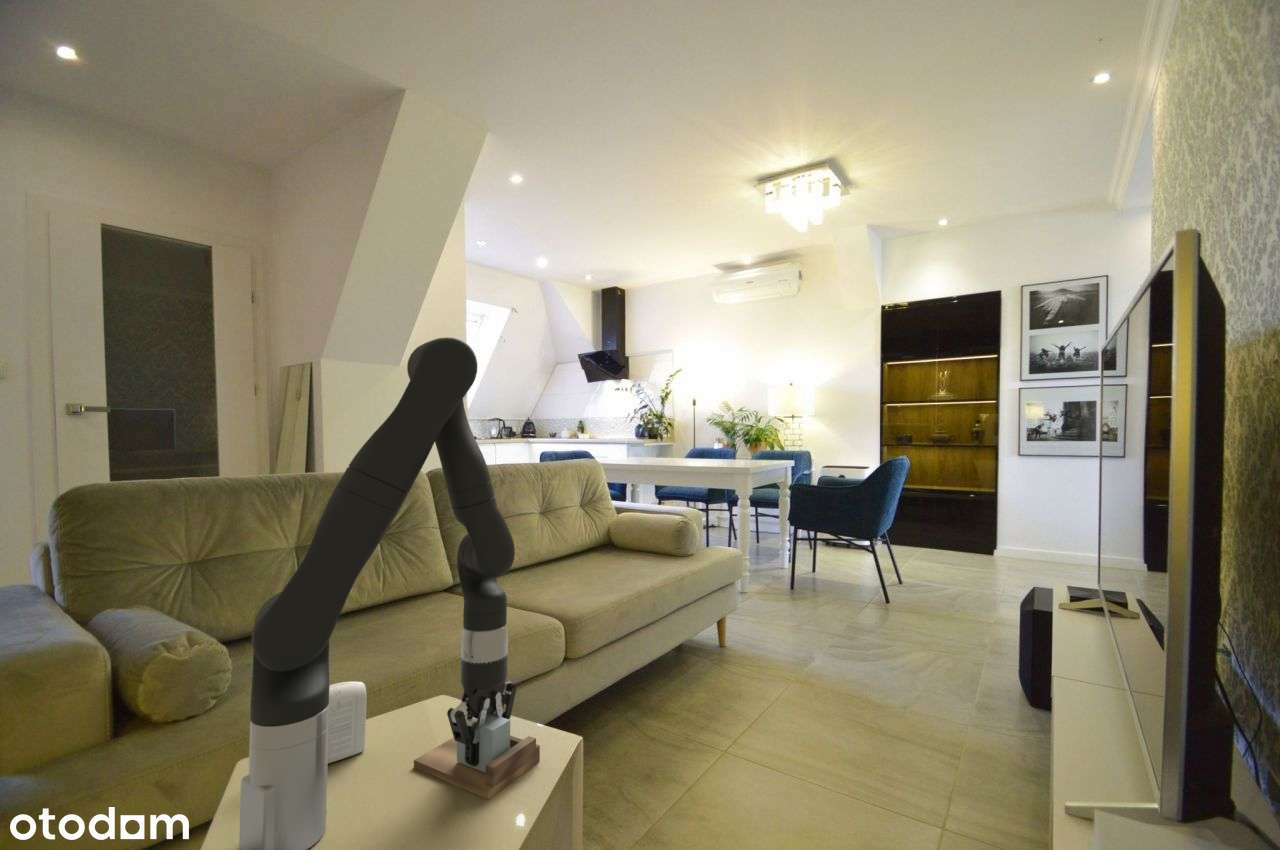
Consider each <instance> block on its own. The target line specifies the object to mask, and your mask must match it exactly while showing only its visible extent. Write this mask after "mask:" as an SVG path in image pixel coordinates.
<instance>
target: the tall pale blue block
mask: <svg viewBox="0 0 1280 850" xmlns="http://www.w3.org/2000/svg"><path fill="white" fill-rule="evenodd" d="M472 718H473V719H475V720H478V719H477V718H474V717H472ZM473 730H474V728H473V727H472V726H471V733H472V734H473ZM510 735H511V719H506V718H503V717H496V716H493V715H489V714H488V715H487V716H486V718H485V723H484V726H483V727H481V728H480V737H479V741H478V742H479V764H478V765H476V766H475V767H474V766H471V765H469V764H467V762H466V761H465V744H462V743H460V742H457V762H459V763H462V764H464V765H467V766H469V767H472V768H474V769H477V770H480V771H482V772H485V773H486V764H488V763H489V762H491V761H492V760H494V759H495V758H497V757H498V756H500V755H501V754H503V753H504V752H506V751H507V750H509V749H510Z"/></svg>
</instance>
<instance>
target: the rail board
mask: <svg viewBox="0 0 1280 850" xmlns="http://www.w3.org/2000/svg"><path fill="white" fill-rule="evenodd" d="M540 746H541V745H539V744H537V738H536V737H532V736H530V735H528V736H527V737H525V738H524V739H522V738H519V737H516V736H514V735H511V734H510V749H509V750H507V751H506V752H504V753H503V754H501V755H500V756H498V757H497V758H495V759H494V760H492V761H491V762H489V763H488V764H486V773H485V772H482V771H480V770H477V769H474V768H472V767H469V766H467V765H464V764H462V763H459V762H457V741H455V740H454V736H453V737H452V738H450V739H449V740H446V741H445V742H443V743H441V744H440V745H438V746H436V747H434V748H433V749H431V750H430V751H428V752H425V753H424V754H422V755H420V756H419V757H417V758H415V759H413V768H415V769H417V770H418V771H421V772H424V773H425V774H428V775H431V776H433V777H436V778H437V779H440V780H442V781H444V782H447V783H449V784H452V785H454V786H456V787H459V788H461V789H464V790H466V791H468V792H470V793H473V794H475V795H477V796H479V797H482V798H484V799H485V800H489V799H491V798H492V797H494V796H495V795H496V794H498V793H499V792H500V791H502V790H503V789H504V788H505V787H507V786H508V785H510V784H511V783H512V782H514V781H515V780H517V779H518V778H519V777H520V776H522V775H523V774H524V773H526V772H527V771H529V770H530V769H531V768H532V767H534V766H535V765H536V764H538V763H539V762H540V760H541V758H540V756H541V751H540V748H541V747H540Z"/></svg>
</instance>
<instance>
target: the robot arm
mask: <svg viewBox="0 0 1280 850" xmlns="http://www.w3.org/2000/svg"><path fill="white" fill-rule="evenodd" d="M406 370H407V371H406V372H407V376H408V379H409V382H408V384H407V386H406V388H405V390H404V391H403V394H402V395H401V398H400V399H399V401H398V403H397V404H396V406H395V407H394V409H393V411H392V412H391V413H390V414H389V415H388V417H387V418H386V419H385V420H384V421H383V422H382V423H381V425H380V426H379V427H378V428H377V429H376V430H375V431H374V432H373V433H372V435H371V436H370V437H369V438H368V439H367V441H365V443H364V444H363V445H362V446H361V448H360V449H359V450H358V451H357V453H356V454H355V455H354V457H353V458H352V460H351V461H350V463H349V464H348V466H347V467H346V469H345V471H344V473H343V474H342V475H341V478H340V480H339V481H338V482H337V484H336V486H335V488H334V490H333V492H332V493H331V496H330V497H329V499H328V502H327V504H326V505H325V507H324V510H323V511H322V512H323V513H322V514H321V516H320V520H319V522H318V524H317V526H316V530H315V532H314V534H313V537H312V539H311V543H310V545H309V547H308V549H307V552H306V554H305V555H304V557H303V559H302V561H301V562H300V564H299V566H298V568H297V569H296V570H295V572H294V574H293V575H292V577H291V578H290V579H289V581H288V582H287V584H286V585H285V587H284V588H283V589H282V590H281V591H280V592H278V593H275V595H273V596H271V597H270V598H269V599H268V600H266V601H265V603H264V604H262V606H261V607H260V609H259V611H258V612H257V614H256V616H255V620H254V623H253V627H252V632H251V645H252V646H251V647H252V651H253V654H252V655H253V657H252V678H251V694H250V712H249V713H250V721H249V747H248V750H249V751H248V752H249V753H248V754H249V755H248V774H247V775H245V776H243V777H242V779H241V780H240V807H239V808H240V809H239V814H240V815H239V835H238V837H239V838H238V840H239V841H238V843H239V844H238V848H239V849H238V850H308V849H309V848H310V849H311V848H312V847H313V846H314V845H315V844H316V843H317V842H318V841H319V840H321V839H322V838H323V835H324V834H325V831H326V829H327V813H328V811H327V805H328V804H327V799H328V798H327V797H328V794H327V793H328V792H327V791H328V764H329V763H328V724H329V686H330V639H331V637H332V634H333V632H334V631H335V630H334V629H335V628H336V624H337V623H338V620H339V618H340V615H341V613H342V610H343V608H344V607H345V604H346V601H347V600H348V597H349V595H350V593H351V590H352V588H353V586H354V584H355V583H356V582H357V579H358V577H359V575H360V574H361V572H362V570H363V569H364V567H365V565H366V564H367V562H368V561H369V560H370V558H371V556H372V555H373V554H374V552H375V551H376V549H377V548H378V546H379V544H380V543H381V541H382V540H383V538H384V536H385V535H386V533H387V531H388V529H389V528H390V526H391V525H392V523H393V522H394V520H395V518H396V517H397V515H398V513H399V511H400V510H401V507H402V506H403V504H404V502H405V501H406V499H407V498H408V496H409V493H410V492H411V489H412V488H413V486H414V483H415V482H416V480H417V478H418V476H419V474H420V473H421V471H422V468H423V467H424V464H425V462H426V461H427V459H428V457H429V455H430V453H431V451H432V449H433V447H434V444H435V447H436V450H437V453H438V456H439V461H440V464H441V469H442V473H443V477H444V480H445V485H446V488H447V489H446V490H447V493H448V498H449V501H450V505H451V508H452V513H453V515H454V517H455V519H456V521H457V522H459V524H461V525H462V526H463V527H464V528H465V530H466V532H467V534H465V535H464V536H463V538H462V539H461V541H460V542H459V545H458V549H457V555H456V565H457V573H458V579H459V583H460V590H461V594H462V597H463V598H462V599H463V610H462V611H463V614H462V615H463V616H462V617H463V620H462V623H463V624H462V634H461V643H460V645H461V646H460V648H461V649H460V653H461V654H460V684H461V685H462V687H463V694H462V697H461V702H460V703H459V704H458V705H457V706H456V707H455V708H453V707H450V708H449V709H448V710H447V713H446V715H447V718H448V721H449V725H450V728H451V729H450V730H451V732H452V736H453V737H454V740H455V741H457V742H460V743H462V744H465V761H466V762H467V764H469V765H471V766H474V767H475V766H476V765H478V764H479V742H478V741H479V737H480V728H481V727H483V726H484V723H485V718H486V716H487V715H488V714H489V715H493V716H496V717H503V718H506V719H509V720H511V717H512V711H513V706H514V702H515V698H516V693H517V688H518V685H517V683H515V682H513V681H508V680H507V679H508V675H509V674H508V672H509V671H508V666H509V665H508V663H509V662H508V661H509V659H508V657H509V655H508V654H509V652H508V651H509V635H508V625H507V621H508V620H507V619H508V618H507V615H508V612H507V611H508V610H507V609H508V601H507V599H508V598H507V595H506V592H505V591H504V589H502V588H501V586H500V585H499V583H498V581H497V580H498V579H497V578H498V577H502V576H504V575H505V574H506V573H507V572H509V571H510V570H511V568H512V567H513V564H514V560H515V557H516V550H515V547H516V546H515V543H514V539H513V536H512V533H511V531H510V529H509V527H508V525H507V521H506V520H505V518H504V516H503V514H502V512H501V510H500V508H499V507H498V505H497V500H496V495H495V491H494V488H493V487H494V486H493V483H492V478H491V475H490V472H489V468H488V465H487V463H486V460H485V458H484V455H483V452H482V450H481V448H480V446H479V444H478V442H477V440H476V437H475V436H474V434H473V432H472V429H471V426H470V424H469V420H468V418H467V417H468V416H467V414H466V408H465V404H464V397H465V396H466V395H467V393H468V392H469V391H470V389H471V388H472V386H473V384H474V382H475V380H476V377H477V373H478V360H477V357H476V354H475V352H474V349H473V348H472V347H471V346H470V345H469V344H468V343H467V342H466V341H465V340H462V339H460V338H456V337H438V338H434V339H432V340H430V341H427V342H425V343H422V344H421V345H419V346H417V347H416V348H415V349H414V350H413V351H412V352H411V354H410V356H409V358H408V361H407V369H406ZM504 707H505V709H504ZM472 717H474V718H477V719H478V720H475V719H473V718H472ZM471 726H472V727H473V728H474V730H473V734H472V733H471Z"/></svg>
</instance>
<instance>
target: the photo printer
mask: <svg viewBox="0 0 1280 850" xmlns="http://www.w3.org/2000/svg"><path fill="white" fill-rule="evenodd" d="M366 719H367V689H366V684H365V683H364V682H363V681H343V682H338V683H334V684H331V685H330V684H329V724H328V764H332V763H334V762H337V761H340V760H343V759H346V758H350V757H352V756H354V755H357V754H360V753H362V752H364V751H365V747H366V724H367V723H366V722H367V720H366Z"/></svg>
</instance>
